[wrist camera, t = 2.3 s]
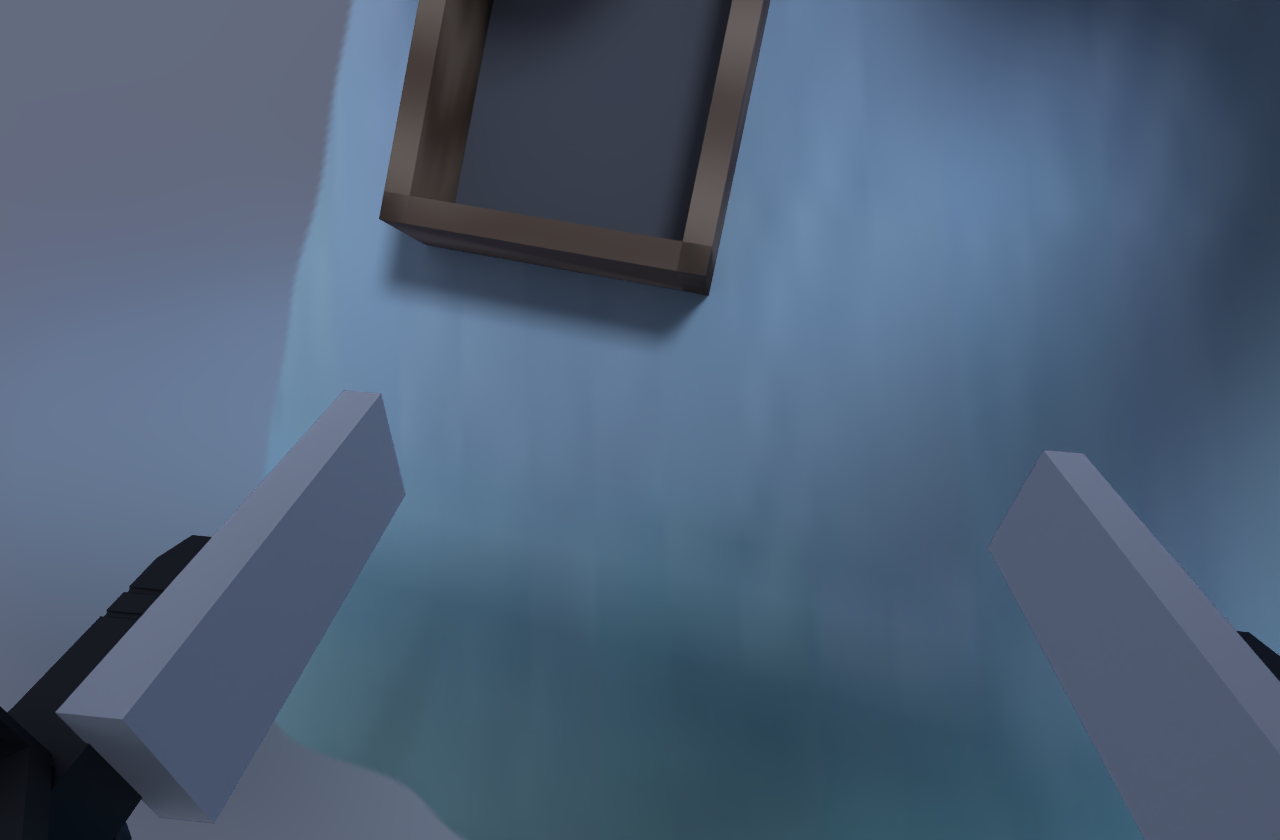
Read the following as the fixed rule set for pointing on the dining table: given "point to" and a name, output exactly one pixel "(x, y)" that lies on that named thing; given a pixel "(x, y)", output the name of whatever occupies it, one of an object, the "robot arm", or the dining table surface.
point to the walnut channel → (430, 215)
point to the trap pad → (594, 111)
